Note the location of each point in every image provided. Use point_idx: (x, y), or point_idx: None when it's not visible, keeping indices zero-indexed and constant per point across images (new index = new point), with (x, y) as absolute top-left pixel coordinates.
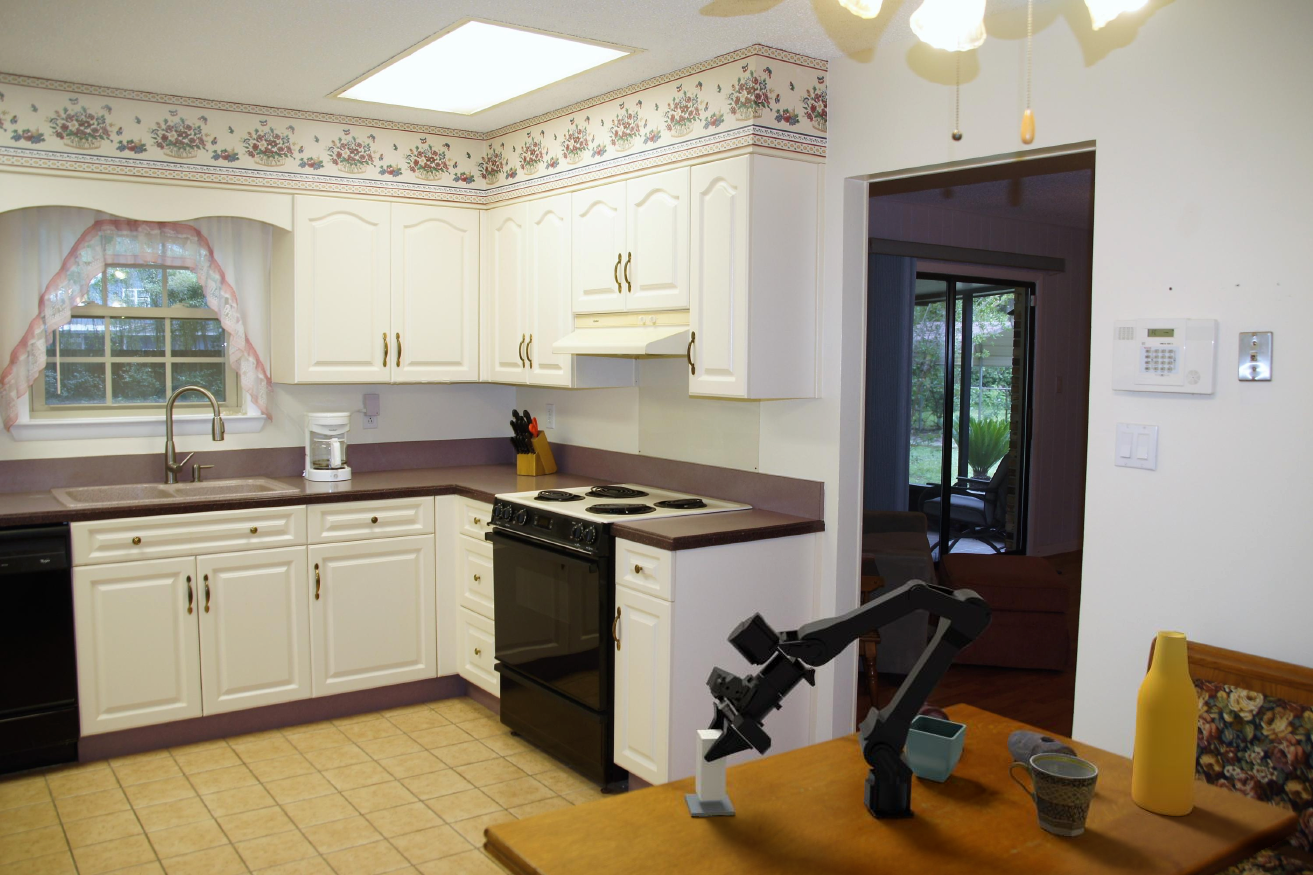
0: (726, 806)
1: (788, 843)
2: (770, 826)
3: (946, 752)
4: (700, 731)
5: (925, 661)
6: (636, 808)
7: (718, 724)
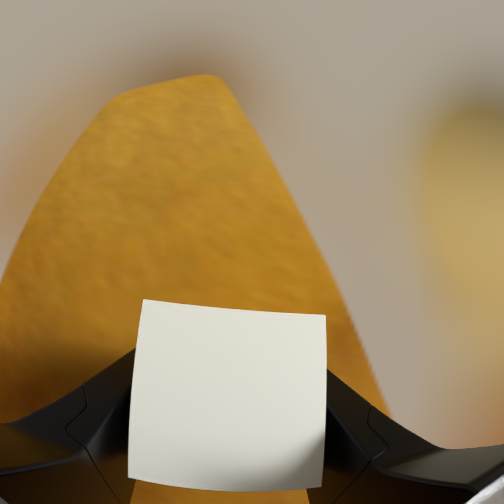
0: None
1: None
2: None
3: None
4: (298, 334)
5: None
6: (241, 223)
7: (355, 478)
